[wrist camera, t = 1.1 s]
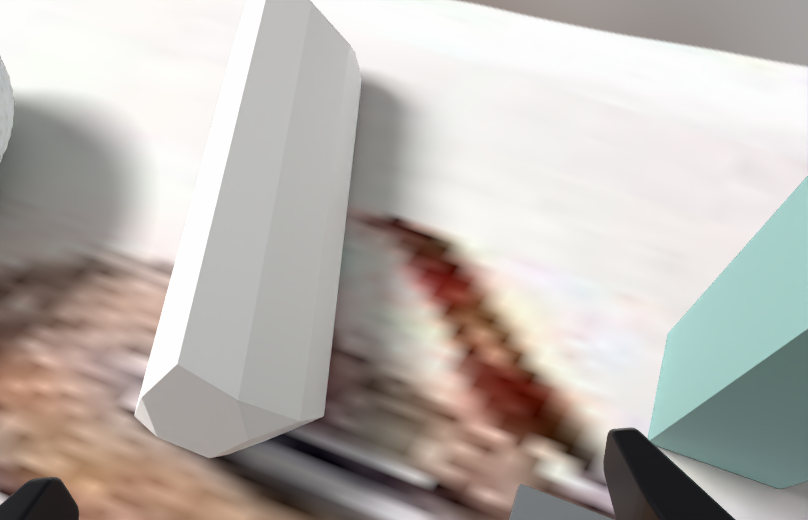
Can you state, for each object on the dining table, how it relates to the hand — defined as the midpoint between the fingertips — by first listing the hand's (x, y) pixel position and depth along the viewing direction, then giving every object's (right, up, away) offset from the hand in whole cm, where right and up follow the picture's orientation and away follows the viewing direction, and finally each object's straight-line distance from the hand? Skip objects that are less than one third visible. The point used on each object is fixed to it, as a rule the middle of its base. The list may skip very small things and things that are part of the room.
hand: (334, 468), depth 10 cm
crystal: (-5, +5, +21) cm, 22 cm away
